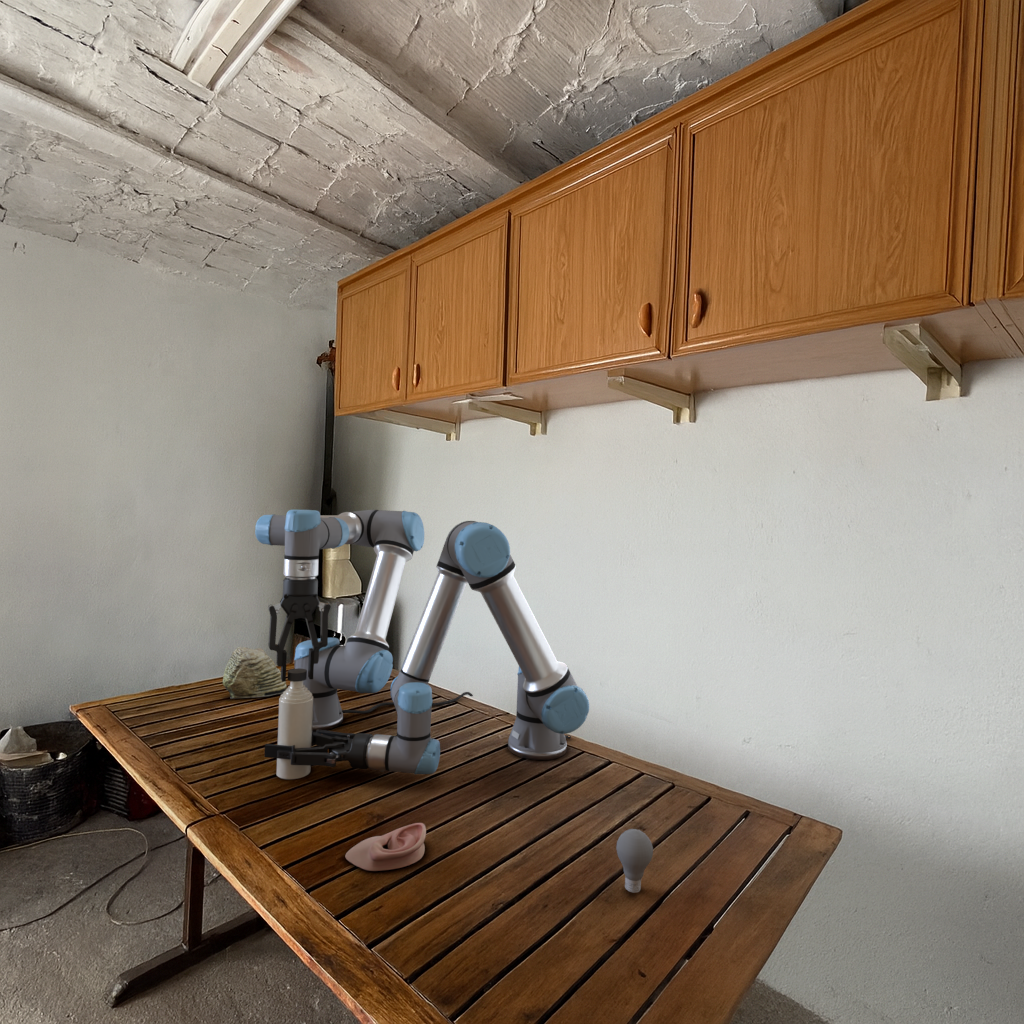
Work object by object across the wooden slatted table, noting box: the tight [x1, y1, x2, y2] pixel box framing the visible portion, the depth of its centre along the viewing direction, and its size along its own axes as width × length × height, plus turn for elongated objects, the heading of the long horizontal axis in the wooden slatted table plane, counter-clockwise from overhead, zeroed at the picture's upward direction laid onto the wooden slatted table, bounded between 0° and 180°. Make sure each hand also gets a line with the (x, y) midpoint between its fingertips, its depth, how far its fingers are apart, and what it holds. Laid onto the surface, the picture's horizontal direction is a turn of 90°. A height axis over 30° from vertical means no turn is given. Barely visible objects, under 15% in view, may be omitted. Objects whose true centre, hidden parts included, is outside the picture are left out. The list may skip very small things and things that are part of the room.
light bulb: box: [615, 828, 654, 894], centre depth 106 cm, size 6×6×10 cm
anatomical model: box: [344, 822, 427, 872], centre depth 113 cm, size 13×4×12 cm
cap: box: [287, 668, 307, 682], centre depth 144 cm, size 4×4×2 cm
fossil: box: [222, 646, 288, 699], centre depth 198 cm, size 9×18×15 cm, turn 132°
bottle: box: [275, 681, 313, 780], centre depth 145 cm, size 7×7×22 cm
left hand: (297, 678), depth 145 cm, fingers open, 5 cm apart
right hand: (274, 743), depth 145 cm, fingers closed on bottle, 7 cm apart
